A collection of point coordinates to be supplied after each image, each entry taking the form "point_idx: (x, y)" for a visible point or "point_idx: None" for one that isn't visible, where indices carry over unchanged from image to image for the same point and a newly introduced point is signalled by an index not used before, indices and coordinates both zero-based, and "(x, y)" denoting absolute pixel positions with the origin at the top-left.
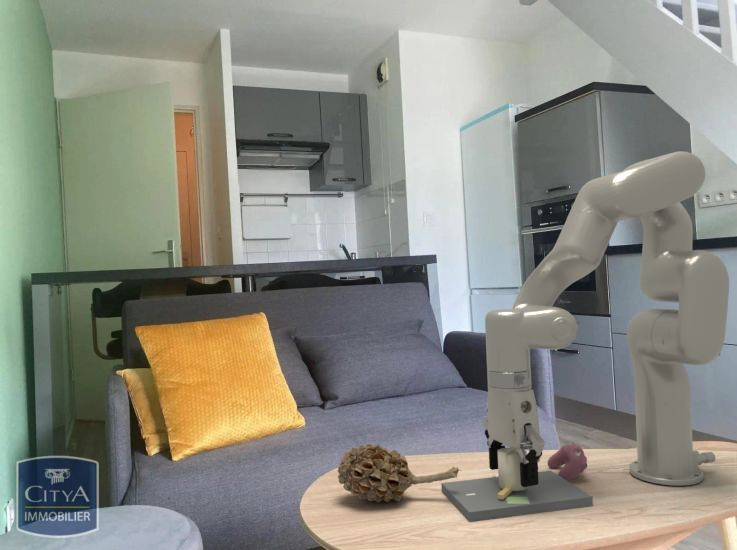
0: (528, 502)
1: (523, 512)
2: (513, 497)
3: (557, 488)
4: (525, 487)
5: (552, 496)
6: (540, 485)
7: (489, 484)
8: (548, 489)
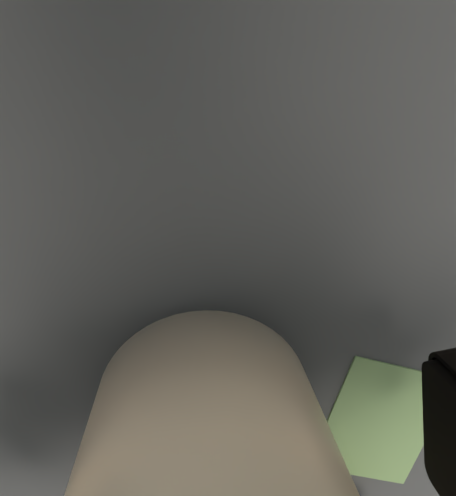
0: None
1: None
2: (336, 432)
3: (279, 69)
4: (299, 361)
5: (413, 194)
6: (173, 174)
7: None
8: (276, 154)
